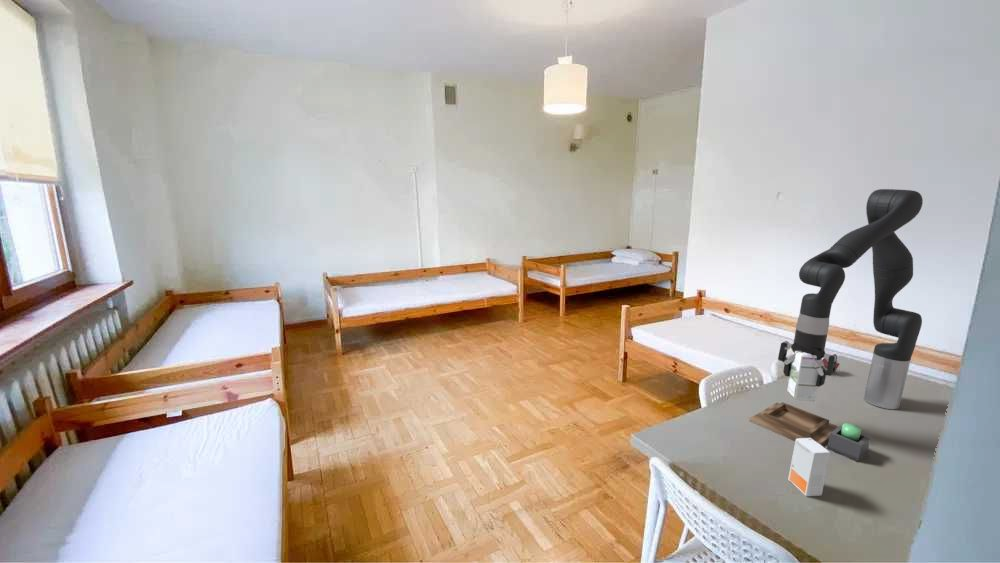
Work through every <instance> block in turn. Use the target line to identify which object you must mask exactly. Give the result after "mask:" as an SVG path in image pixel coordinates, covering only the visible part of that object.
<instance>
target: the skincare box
mask: <svg viewBox="0 0 1000 563" xmlns="http://www.w3.org/2000/svg"><path fill="white" fill-rule="evenodd" d="M830 456H831V452H830V450H829V449H827V448H825V447H824V446H823V445H820V444H819V443H817V442H816V441H814V440H813V439H812V438H798V439H796V440H795V441H794V446H793V451H792V457H791V461H790V468H789V473H788V477H787V478H788V479H787V480H788V481H789V482H790V483H791V484H792V485H793V486H794V487H796V489H798V490H799V491H800V492H801V493H802V494H803V495H804V496H805V497H818V496H819V497H820V496H822V495H823V491H824V490H823V489H824V486H825V481H826V476H827V471H828V466H829V460H830Z"/></svg>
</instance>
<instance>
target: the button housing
mask: <svg viewBox="0 0 1000 563" xmlns="http://www.w3.org/2000/svg"><path fill="white" fill-rule="evenodd" d="M838 426H839V427H837V428H836V429H835V430H833V431H832V432H831V433H830V436H829V440H828V441H827V442H828V443H827V447H826V450H828V451H831V452H833V453H835V454H838V455H841V456H843V457H844V458H848V459H849V460H852V461H854V462H856V463H858V462H859V461H861V460H862V458H863V457H865V456H866V455H867V454H868V450H869V446H870V443H871V442H870V441H871V438H872V437H871V436H870V435H869V436H868V435H867V434H863V433H861V434H860V438H859V440H858V441H853V440H851V439H848V438H846V437H843V436H841V430H842V426H843V425H838Z"/></svg>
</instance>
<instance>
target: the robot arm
mask: <svg viewBox="0 0 1000 563" xmlns="http://www.w3.org/2000/svg"><path fill="white" fill-rule="evenodd" d="M922 196H923V195H921V193H920V192H919V191H916V190H912V189H893V188H892V189H890V188H881V189H879V188H878V189H876V190H874V191H872V192H871V193H870V195H869V197H868V199H867V202H866V205H865V206H866V208H865V209H866V210H865V211H866V219H867V223H868V224H865V225H863V226H861V227H858V228H856V229H854V230H851V231H849V232H847V233H846V234H844V235H843V236H842V237H840V238H839V239H838V240H837V241H835V243H834V244H833V245H832V246H830V248H829V249H826V250H825V251H822V252H820V253H819V254H817V255H815V256H813V257H811V258H810V259H808V260H807V261H806V262H804V264H802V266H800V269H799V272H798V276H799V280H800V281H801V282H802V283H804V284H806V285H809V286H813V287H818V288H820V289H819V291H818V292H817V293H814V292H813V293H806V294H804V295H803V296H802V299H801V303H800V308H799V315H798V317H797V321H796V325H795V326H796V327H795V333H794V338H793V343H790V342H789V341H787V340H786V341H783V342H781V343H780V347H779V352H778V357H777V359H778V361H779V362H780V361H781V362H782V363H784V366H783V370H782V373H783V374H784V376H785V377H787V378H789V372H790V366H791V362H792V361H793V360H794V359H795V355H796V353H798V352H799V353H803V352H805V353H808V354H809V355H816V357H817V360H820V359H821V358H826V361H827V362H828V366H827V370H826V369H825V367H824V364H823V362H821V365H820V364H818V362H817V361H816V359H815V358H814V357H813V356H812V358H813V363H812V364H813V366H814V368H816V369H817V371H818V373H819V374H818V377H817V382H816V386H817V388H819V387H822V386H824V385H825V383H826V377H827V376H829V377H831V376H832V375H834V374H836V371H835V369H836V363H838V362H837V361H838V355H837V354H834V353H832V354H830V353H826V351H825V348H826V343H827V338H828V334H829V327H830V315H831V310H832V306H833V305H832V304H833V303H834V301H835V299H836V297H837V295H838V293H839V291H840V289H841V288H842V286H843V284H844V282H845V280H846V273H845V269H846V268H847V269H848V268H850V267H851V266H853V265H854V264H855V263H856V262H857V261H858V260H859V259H860V258H861V257H862V256H864V255H865V253H866V252H868V250H870V249H871V251H872V272H873V273H872V274H873V283H874V304H873V305H874V306H873V319H872V320H873V321H872V322H873V327H874V329H875V331H876V332H878V333H880V334H884V335H886V336H891V337H894V338H897V341H896V342H891V343H890V342H887V343H883V342H882V343H877V344H876V345H875V346H874V348H873V352H872V358H871V363H870V367H869V371H868V376H867V380H866V384H865V385H866V387H865V391H864V393H863V394H864V396H863V400H865V401H866V403H868V404H870V405H873V406H876V407H879V408H882V409H887V410H898V409H900V406H901V402H902V398H903V394H904V389H905V385H906V381H907V377H908V373H909V368H910V364H911V361H912V360H911V359H912V356H913V353H914V350H915V348H916V344H917V340H918V337H919V335H920V331H921V328H922V324H923V318H922V316H921V314H920V313H918V312H915V311H909V310H905V309H901V308H895V307H894V305H893V302H894V301H893V300H894V297H895V296H896V295H897V294H898V293H899V292H901V291H902V290H903V289H904V288H905V287H906V286H907V285H909V283H910V282H911V280H912V279H913V276H914V258H913V255H912V252H911V251H910V250H909V249H908V247H907V246H906V244H904V242H903V241H902V240H901V239H900V238H899V236H898V235H897V234H896V231H897V230H899V229H901V228H902V227H904V226H905V225H907V224H908V223H910V222H911V221H912V220H913V219H915V218H916V217H917V216H918V214H919V213H920V211H921V209H922V207H923V197H922ZM790 349H791V350H792V353H793V352H794V353H795V351H797V352H796V353H795V354H793V355H792V354H791V356H789V357H787V354H788V350H790Z"/></svg>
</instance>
